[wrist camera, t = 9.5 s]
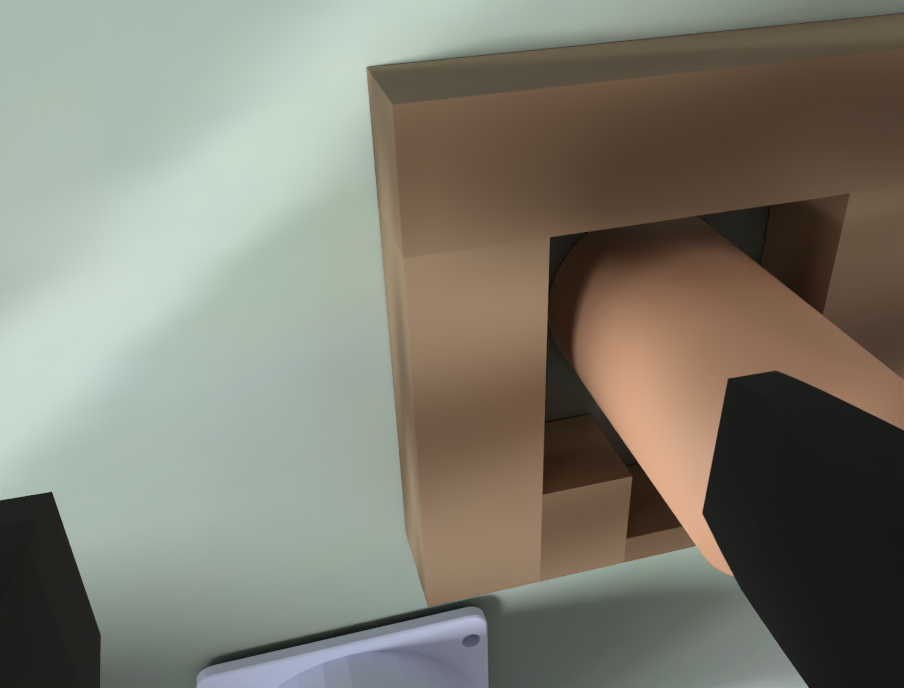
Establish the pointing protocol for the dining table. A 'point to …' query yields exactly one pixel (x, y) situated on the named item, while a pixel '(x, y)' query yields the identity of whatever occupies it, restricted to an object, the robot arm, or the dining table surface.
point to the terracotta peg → (693, 348)
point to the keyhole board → (596, 208)
